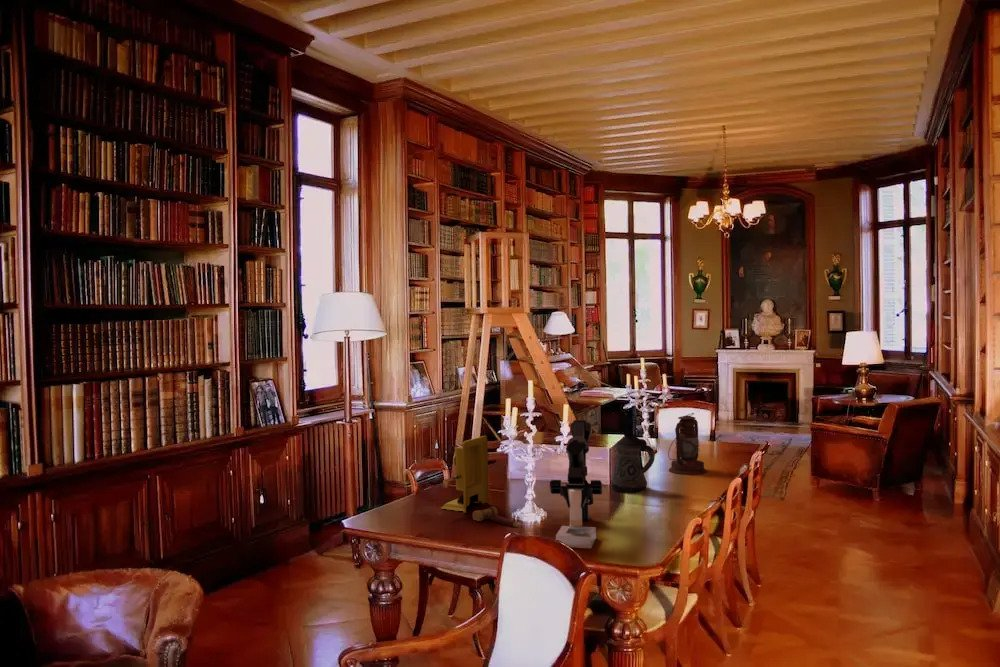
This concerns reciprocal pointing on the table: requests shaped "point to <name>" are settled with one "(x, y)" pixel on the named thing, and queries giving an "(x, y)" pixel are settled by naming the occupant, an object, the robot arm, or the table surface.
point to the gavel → (492, 516)
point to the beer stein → (631, 465)
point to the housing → (577, 536)
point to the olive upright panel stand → (470, 474)
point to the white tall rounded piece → (575, 507)
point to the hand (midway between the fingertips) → (575, 507)
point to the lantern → (687, 448)
